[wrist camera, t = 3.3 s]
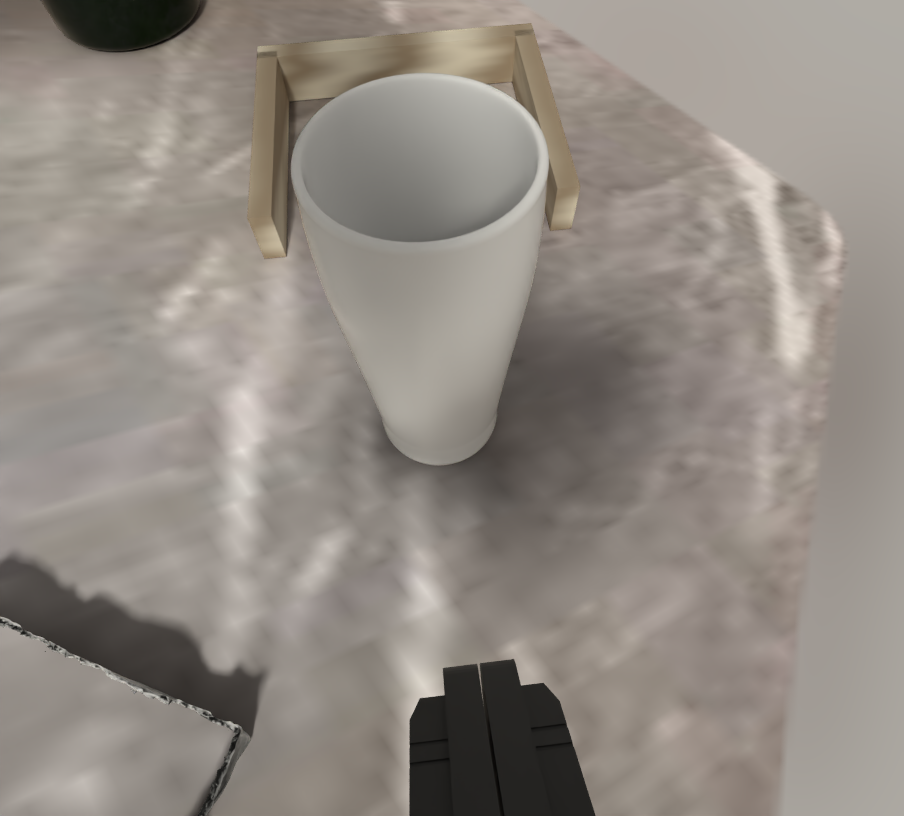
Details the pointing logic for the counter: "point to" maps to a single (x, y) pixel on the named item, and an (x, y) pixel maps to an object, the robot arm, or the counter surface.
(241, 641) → the counter surface
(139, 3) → the beer bottle
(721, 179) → the counter surface
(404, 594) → the counter surface
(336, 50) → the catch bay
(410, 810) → the robot arm
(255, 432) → the counter surface
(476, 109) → the drinking glass
